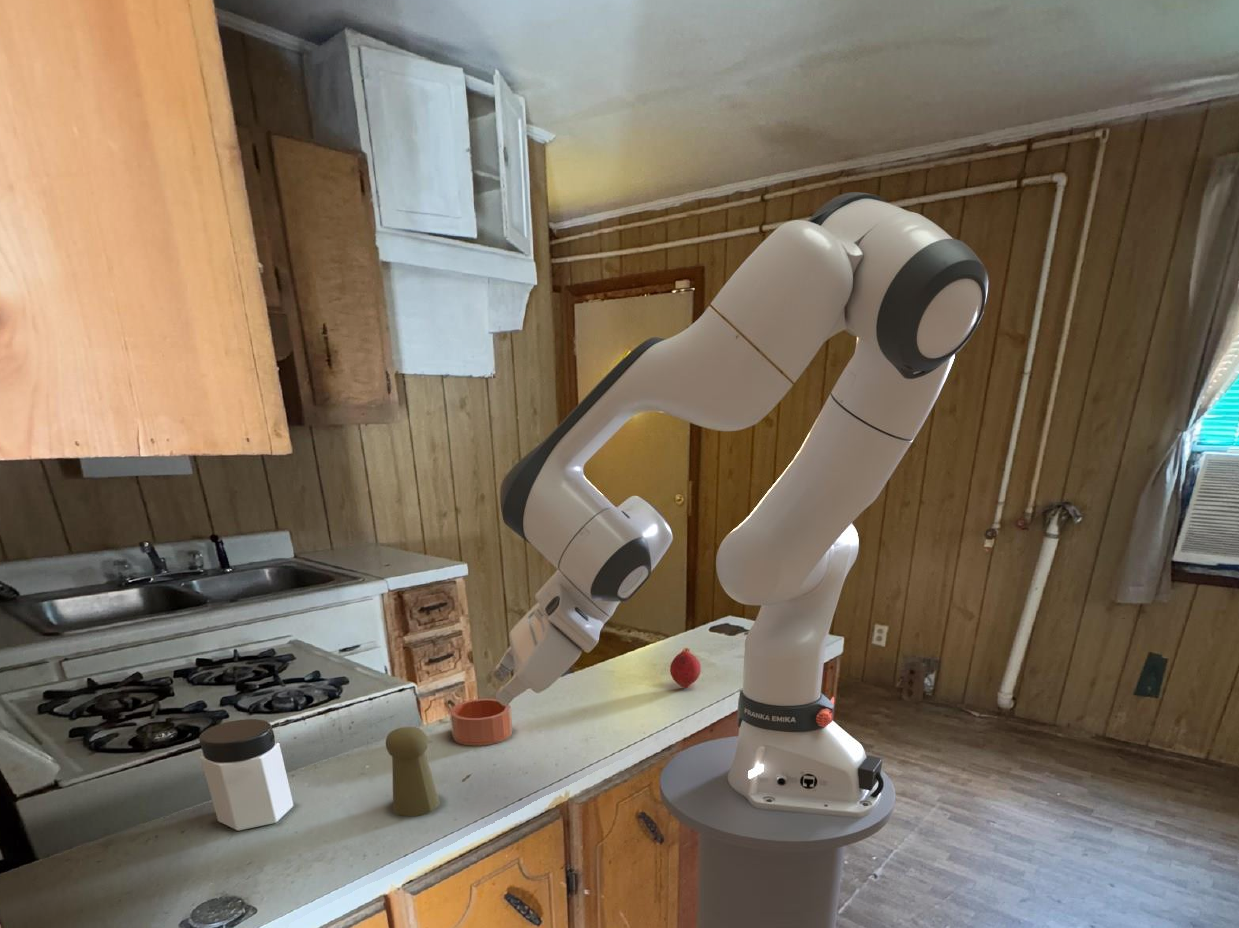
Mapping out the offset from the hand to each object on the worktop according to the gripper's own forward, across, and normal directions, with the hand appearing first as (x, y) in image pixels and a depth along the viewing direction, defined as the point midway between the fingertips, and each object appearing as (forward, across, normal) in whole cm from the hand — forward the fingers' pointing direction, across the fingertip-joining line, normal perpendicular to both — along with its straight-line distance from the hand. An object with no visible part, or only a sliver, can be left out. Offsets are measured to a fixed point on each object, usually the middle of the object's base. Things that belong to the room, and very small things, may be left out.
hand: (498, 688), depth 96 cm
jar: (+34, -3, -12) cm, 36 cm away
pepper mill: (+20, 0, +3) cm, 20 cm away
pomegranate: (-14, -37, +36) cm, 54 cm away
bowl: (+13, -23, +9) cm, 28 cm away
